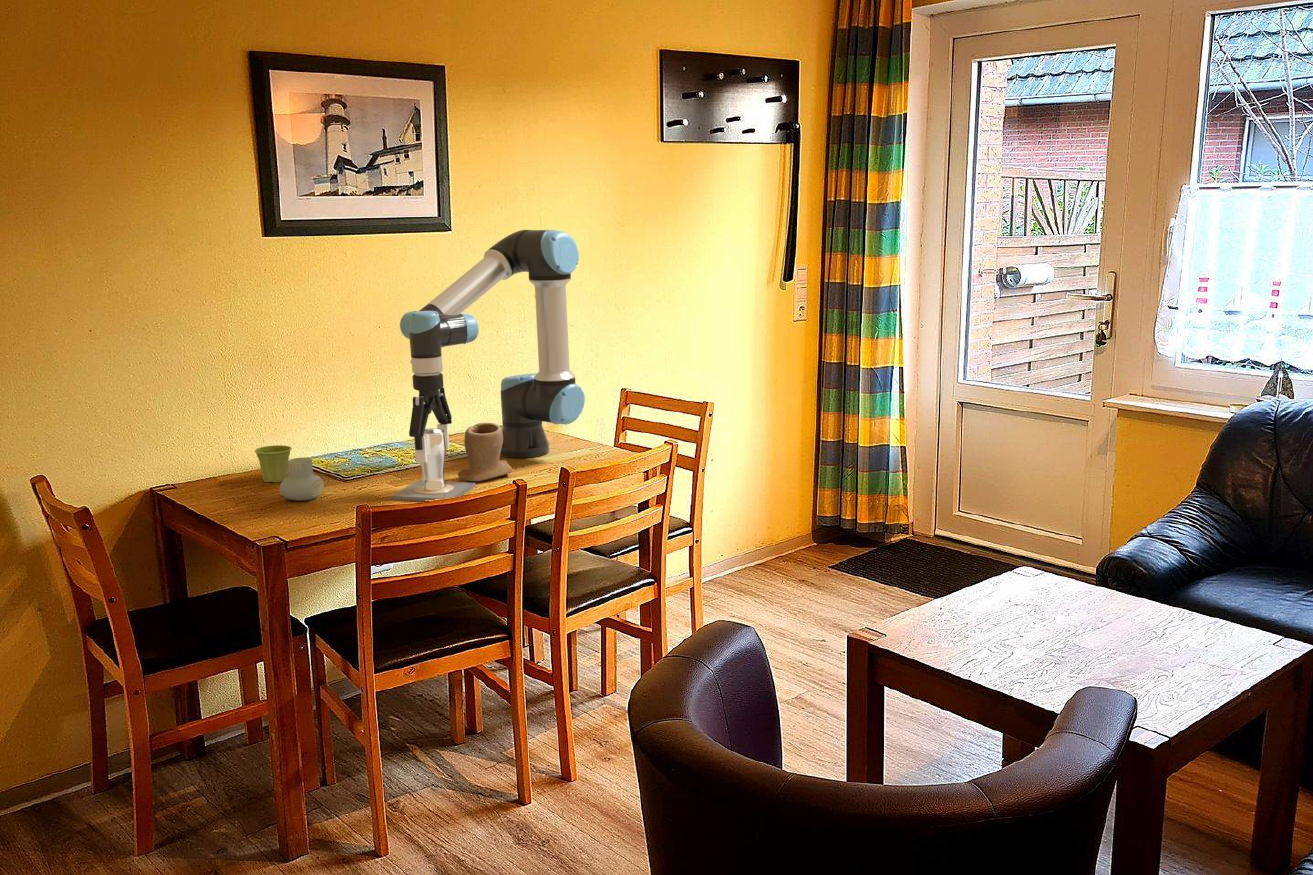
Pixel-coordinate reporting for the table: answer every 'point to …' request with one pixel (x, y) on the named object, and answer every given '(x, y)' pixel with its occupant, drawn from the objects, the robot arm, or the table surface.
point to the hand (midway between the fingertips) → (433, 455)
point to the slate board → (418, 494)
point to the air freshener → (301, 481)
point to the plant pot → (274, 462)
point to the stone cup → (484, 453)
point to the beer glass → (434, 460)
